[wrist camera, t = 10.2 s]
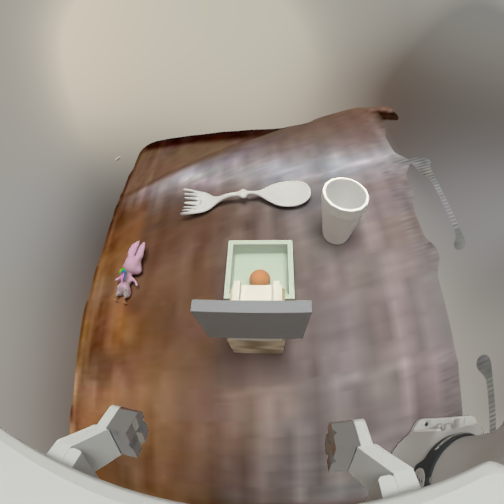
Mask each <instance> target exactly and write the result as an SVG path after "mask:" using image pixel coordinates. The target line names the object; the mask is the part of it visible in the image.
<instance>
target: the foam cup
mask: <svg viewBox="0 0 504 504" xmlns="http://www.w3.org/2000/svg"><path fill="white" fill-rule="evenodd" d="M321 200H322V233H323V237H324V238H325V239H326V241H328V242H330V243H332V244H337V245H339V244H343V243H345V242H346V241H347V240H348V238H349V237H350V235H351V233H352V232H353V230H354V228H355V227H356V225H357V223H358V222H359V220H360V218H361V216H362V215H363V214H364V213H365V211H366V208H367V205H368V201H369V195H368V192H367V190H366V189H365V188H364V187H363V186H362V185H361V184H360V183H359V182H357V181H355V180H353V179H350V178H344V177H338V178H332V179H330V180H329V181H327V182H326V183H325V185H324V187H323V190H322V195H321Z"/></svg>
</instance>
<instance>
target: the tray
mask: <svg viewBox="0 0 504 504" xmlns="http://www.w3.org/2000/svg"><path fill="white" fill-rule="evenodd" d="M255 270H264V271H266V272H267V273H268V274H269V276H270V283H269V285H273V281H280V285H282V289H285V301H294V300H295V294H294V268H293V247H292V240H230V241H229V244H228V255H227V265H226V276H225V288H224V300H230V290H231V288H232V286H233V285H234V281H240V282H241V285H251V284H250V280H249V279H250V275H251V274H252V273H253V272H254V271H255Z"/></svg>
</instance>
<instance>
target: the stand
mask: <svg viewBox="0 0 504 504" xmlns="http://www.w3.org/2000/svg"><path fill="white" fill-rule="evenodd" d="M231 299H232V288H231V290H230V300H231ZM282 301H285V289H282ZM227 341H228V343H229V345H230V347H231V348H232V350H233V352H234V353H283V352H284V346H285V339H282V341H247V340H230V339H229V338H227Z"/></svg>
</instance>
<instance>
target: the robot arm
mask: <svg viewBox="0 0 504 504" xmlns="http://www.w3.org/2000/svg"><path fill="white" fill-rule="evenodd" d="M143 418H144V416H143V413H142V412H140V411H137V410H132V409H128V408H124V407H120V406H116V405H111V406H110V407H109V408H108V410H107V411H106V413H105V414H104V415H103V417H102V418H101V420H100V421H99V423H98V424H97V425H92V426H90V427H87V428H85V429H83V430H80V431H78V432H76V433H73V434H71V435H68V436H66V437H63V438H61V439H58V440H57V441H56V442H55V444H54V445H53V446H52V448H51V449H50V450H49V451H48V453H47V454H46V455H45V454H44V453H42V452H40V451H38V450H36V449H35V448H33V447H31V446H29V445H28V444H26V443H24V442H23V441H21V440H20V439H18V438H16V437H15V436H13V435H12V434H10V433H9V432H7V431H6V430H4V429H3V428H1V427H0V504H188V503H182V502H177V501H172V500H168V499H163V498H159V497H155V496H151V495H147V494H143V493H140V492H136V491H133V490H130V489H126V488H123V487H120V486H117V485H114V484H111V483H109V482H106V481H103V480H100V478H99V477H98V476H97V474H96V473H95V471H97V470H98V469H100V468H102V467H103V466H105V465H106V464H108V463H109V462H111V461H112V460H114V459H115V458H117V457H118V456H120V455H121V454H124V455H128V456H132V457H136V458H137V457H138V455H139V453H140V451H141V449H142V446H141V444H142V443H143V442H145V441H146V439H147V436H148V427H147V424H146V423H145V422H144V421H143ZM425 423H427V425H426V426H425ZM325 451H326V454H327V455H328V459H327V464H328V471H329V472H339V471H348V472H349V473H350V474H351V475H352V476H353V477H354V478H355V479H356V480H357V481H358V482H359V483H360V484H361V485H363V486H364V487H365V488H366V489H367V490H368V491H369V492H370V494H369V495H368V497H367V498H366V500H365V501H364V503H358V504H504V422H503V424H502V425H501V426H500V427H499V428H498V429H497V430H496V431H494V432H491V433H487V434H484V433H483V429H482V427H481V426H480V425H479V424H477V421H476V419H475V418H474V416H472V415H467V416H456V417H443V418H421V419H418V420H417V421H416V422H415V424H414V425H413V427H412V429H411V431H410V433H409V434H408V435H407V436H406V437H405V438H404V439H403V440H402V441H401V442H400V443H399V444H398V445H397V446H396V448H395V449H394V451H393V452H392V454H391V453H389V452H388V451H386V450H385V449H383V448H382V447H380V446H379V445H377V444H373V442H372V439H371V436H370V433H369V430H368V427H367V425H366V422H365V420H364V419H356V420H347V421H339V422H330V423H329V425H328V434H326V438H325Z"/></svg>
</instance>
